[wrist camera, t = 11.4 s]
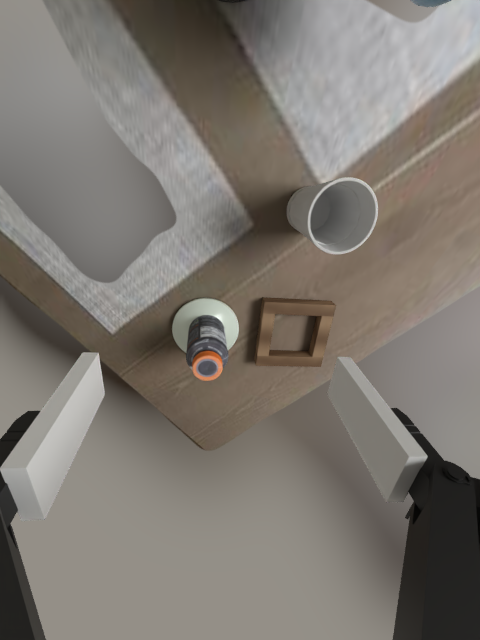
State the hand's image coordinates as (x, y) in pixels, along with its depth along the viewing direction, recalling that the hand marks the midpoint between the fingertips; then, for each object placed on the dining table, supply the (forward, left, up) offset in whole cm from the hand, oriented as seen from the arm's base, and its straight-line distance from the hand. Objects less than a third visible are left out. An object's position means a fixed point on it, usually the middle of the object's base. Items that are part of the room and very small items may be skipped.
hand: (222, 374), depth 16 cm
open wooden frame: (+12, +15, -30) cm, 36 cm away
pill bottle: (+12, 0, -30) cm, 32 cm away
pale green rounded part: (+12, 0, -30) cm, 33 cm away
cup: (-8, +14, -31) cm, 34 cm away
